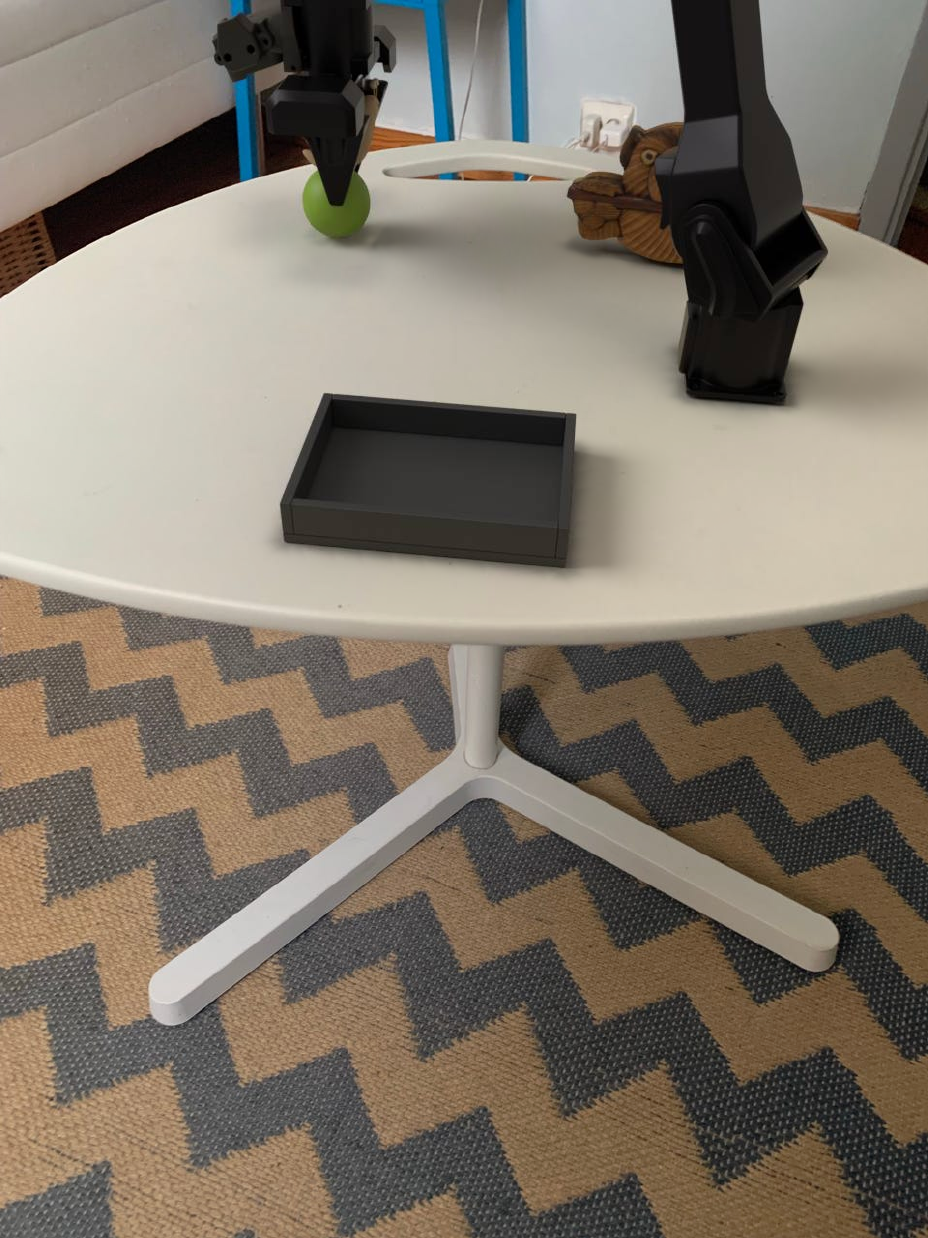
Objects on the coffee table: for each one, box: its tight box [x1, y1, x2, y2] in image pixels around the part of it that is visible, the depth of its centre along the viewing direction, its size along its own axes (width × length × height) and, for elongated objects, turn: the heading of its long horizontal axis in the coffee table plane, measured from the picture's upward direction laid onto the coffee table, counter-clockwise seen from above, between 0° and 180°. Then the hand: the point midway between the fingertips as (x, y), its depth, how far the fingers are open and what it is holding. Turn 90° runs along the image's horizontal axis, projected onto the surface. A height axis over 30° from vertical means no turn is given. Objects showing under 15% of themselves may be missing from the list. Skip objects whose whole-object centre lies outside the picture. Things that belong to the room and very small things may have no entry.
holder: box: [279, 392, 577, 568], centre depth 59 cm, size 15×11×3 cm
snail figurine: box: [301, 77, 380, 239], centre depth 81 cm, size 5×6×12 cm
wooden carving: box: [566, 121, 684, 264], centre depth 81 cm, size 16×5×10 cm, turn 78°
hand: (342, 193), depth 83 cm, fingers closed on snail figurine, 4 cm apart
